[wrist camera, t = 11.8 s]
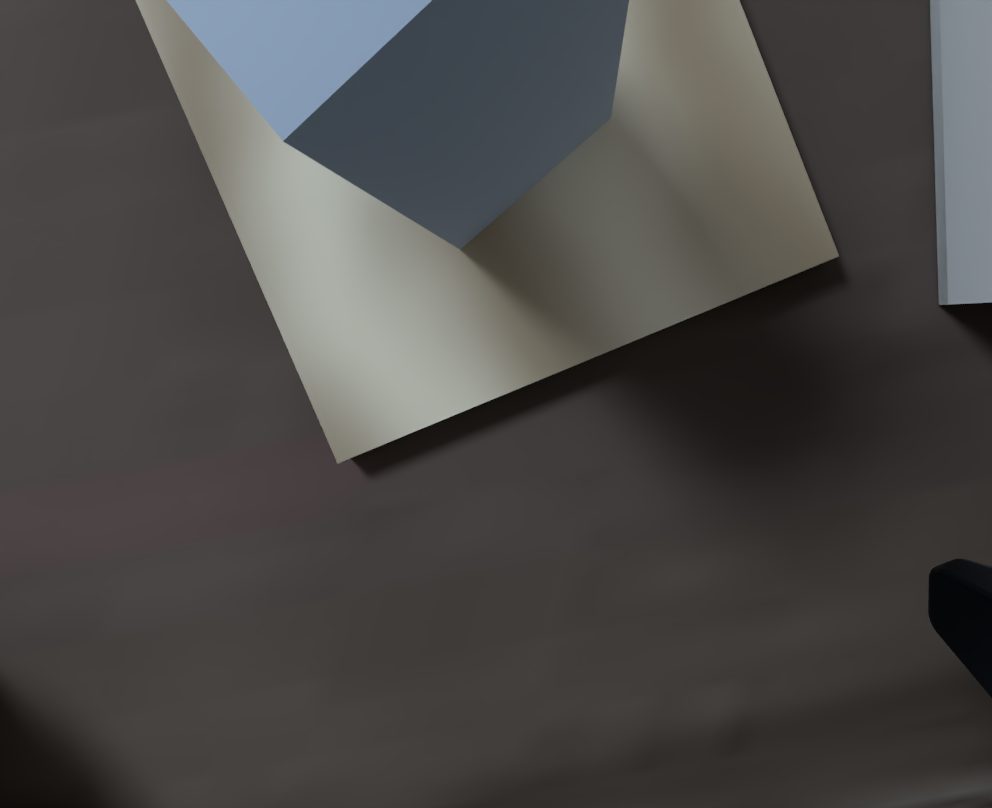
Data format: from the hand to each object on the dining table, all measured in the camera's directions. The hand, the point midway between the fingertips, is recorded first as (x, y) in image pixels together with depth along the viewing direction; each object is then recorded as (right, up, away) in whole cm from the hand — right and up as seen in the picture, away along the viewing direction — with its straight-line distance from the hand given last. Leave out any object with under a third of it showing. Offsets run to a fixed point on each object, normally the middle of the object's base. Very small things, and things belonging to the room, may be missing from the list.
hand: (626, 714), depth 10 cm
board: (-2, +12, +11) cm, 16 cm away
